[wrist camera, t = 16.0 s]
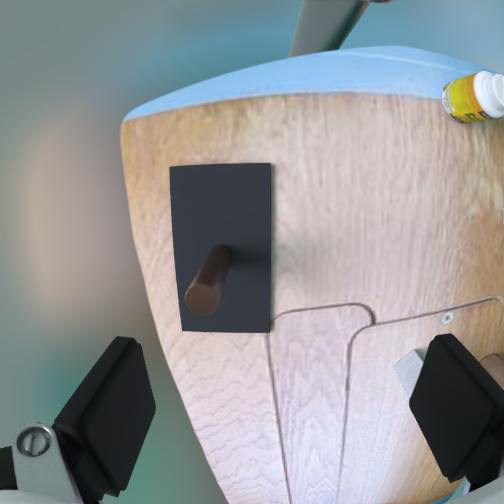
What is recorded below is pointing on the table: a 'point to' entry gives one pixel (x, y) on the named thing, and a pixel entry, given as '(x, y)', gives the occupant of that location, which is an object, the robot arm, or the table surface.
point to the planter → (494, 368)
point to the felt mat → (224, 241)
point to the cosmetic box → (409, 371)
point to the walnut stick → (209, 282)
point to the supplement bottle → (474, 97)
